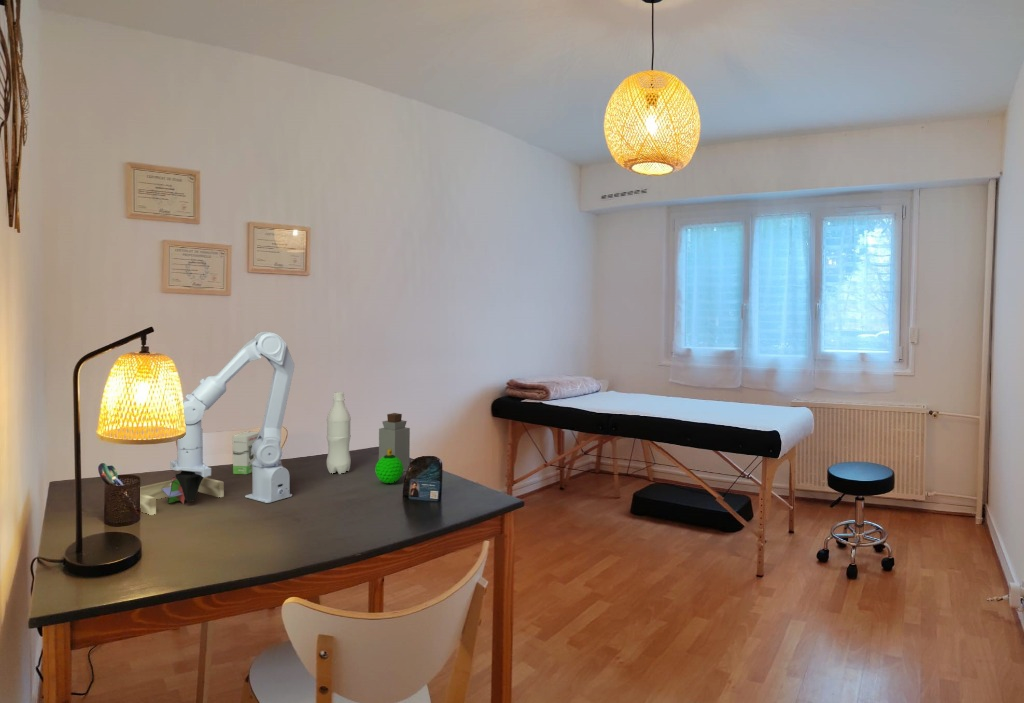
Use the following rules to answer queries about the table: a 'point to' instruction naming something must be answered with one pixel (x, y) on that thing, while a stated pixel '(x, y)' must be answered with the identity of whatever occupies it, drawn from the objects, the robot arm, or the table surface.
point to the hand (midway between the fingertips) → (190, 500)
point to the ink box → (243, 452)
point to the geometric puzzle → (174, 491)
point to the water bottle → (338, 436)
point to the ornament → (389, 468)
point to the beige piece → (154, 492)
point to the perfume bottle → (395, 438)
